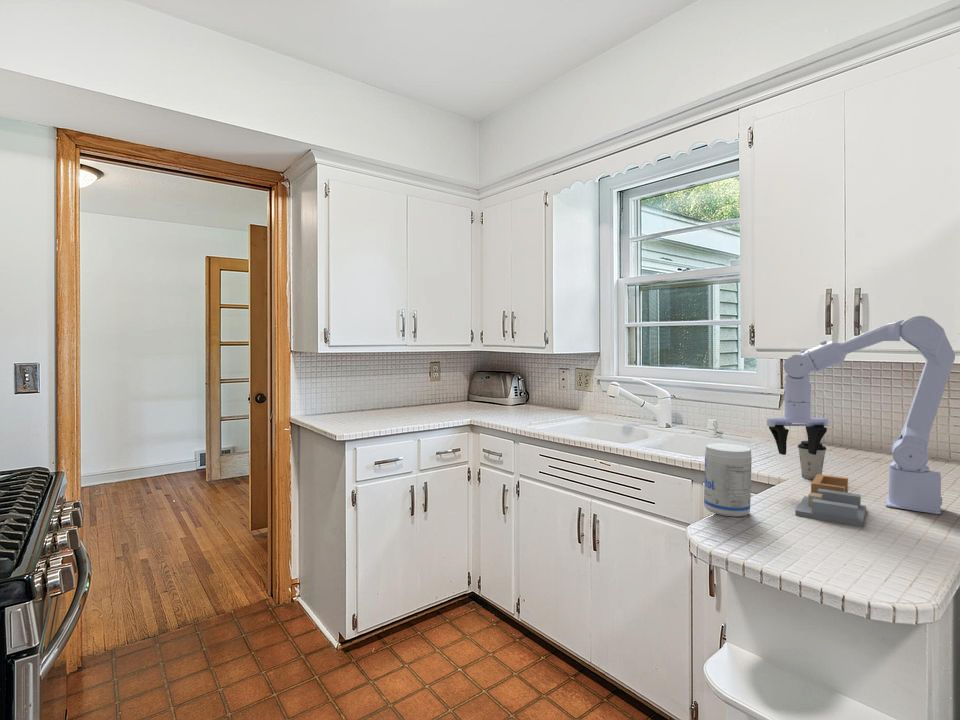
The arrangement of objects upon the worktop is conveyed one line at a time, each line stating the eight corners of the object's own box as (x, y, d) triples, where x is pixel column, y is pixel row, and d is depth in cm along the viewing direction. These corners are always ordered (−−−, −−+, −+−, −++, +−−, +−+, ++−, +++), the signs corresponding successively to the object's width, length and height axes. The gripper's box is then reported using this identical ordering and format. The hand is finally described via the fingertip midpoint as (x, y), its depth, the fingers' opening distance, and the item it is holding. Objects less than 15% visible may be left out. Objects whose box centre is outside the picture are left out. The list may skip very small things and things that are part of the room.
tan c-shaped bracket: (847, 493, 131) (848, 477, 131) (844, 504, 122) (844, 488, 121) (817, 489, 135) (817, 473, 135) (810, 499, 126) (811, 483, 126)
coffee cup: (832, 479, 145) (832, 444, 144) (813, 481, 142) (813, 445, 142) (809, 473, 151) (809, 439, 151) (791, 475, 149) (791, 441, 149)
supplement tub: (696, 505, 122) (696, 443, 121) (734, 503, 123) (734, 442, 122) (719, 519, 112) (719, 451, 112) (760, 517, 113) (761, 450, 113)
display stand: (865, 510, 118) (866, 494, 118) (862, 526, 107) (862, 510, 107) (804, 500, 125) (804, 485, 125) (795, 514, 114) (795, 499, 114)
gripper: (816, 399, 137) (816, 450, 137) (760, 400, 137) (760, 451, 137) (833, 402, 130) (833, 456, 130) (775, 403, 130) (775, 456, 130)
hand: (797, 454), depth 133 cm, fingers open, 7 cm apart
